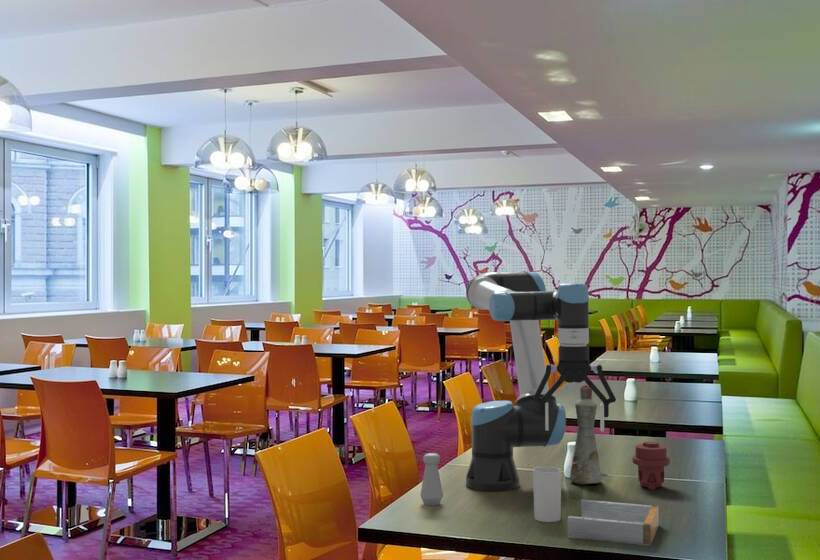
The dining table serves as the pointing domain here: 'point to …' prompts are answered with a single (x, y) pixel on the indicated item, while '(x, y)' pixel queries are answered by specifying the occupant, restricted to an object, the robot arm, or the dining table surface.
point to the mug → (547, 494)
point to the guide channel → (615, 522)
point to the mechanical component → (651, 464)
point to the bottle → (585, 442)
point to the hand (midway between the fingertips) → (574, 430)
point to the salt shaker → (431, 481)
